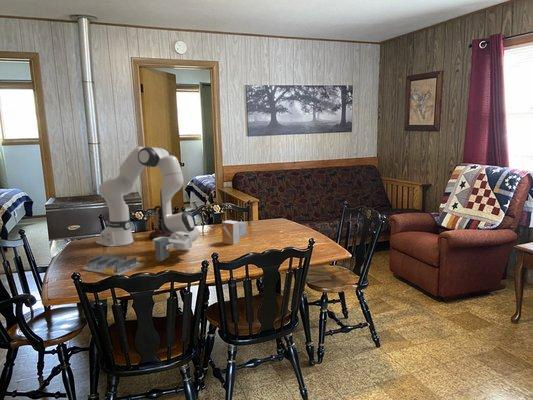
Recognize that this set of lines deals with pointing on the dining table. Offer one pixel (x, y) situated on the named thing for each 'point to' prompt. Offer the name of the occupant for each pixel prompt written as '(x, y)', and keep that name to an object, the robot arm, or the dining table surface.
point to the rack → (111, 264)
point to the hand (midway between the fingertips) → (161, 247)
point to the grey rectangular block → (161, 249)
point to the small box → (230, 232)
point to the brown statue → (158, 225)
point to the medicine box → (242, 229)
